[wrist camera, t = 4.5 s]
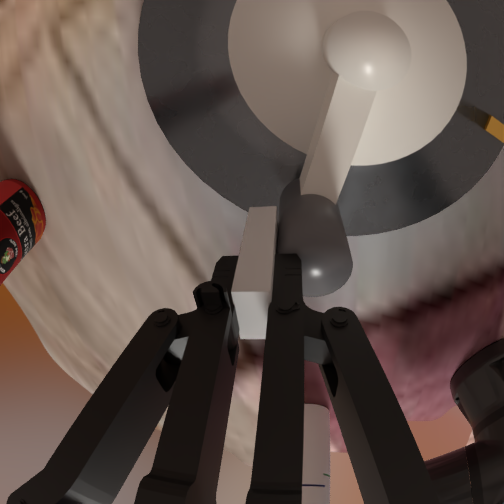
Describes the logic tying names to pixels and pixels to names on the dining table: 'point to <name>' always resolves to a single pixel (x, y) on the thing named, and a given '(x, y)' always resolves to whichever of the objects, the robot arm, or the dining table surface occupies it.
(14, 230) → the canned food
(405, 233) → the dining table surface
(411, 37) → the dial
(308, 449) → the cylindrical container
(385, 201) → the dial plate
